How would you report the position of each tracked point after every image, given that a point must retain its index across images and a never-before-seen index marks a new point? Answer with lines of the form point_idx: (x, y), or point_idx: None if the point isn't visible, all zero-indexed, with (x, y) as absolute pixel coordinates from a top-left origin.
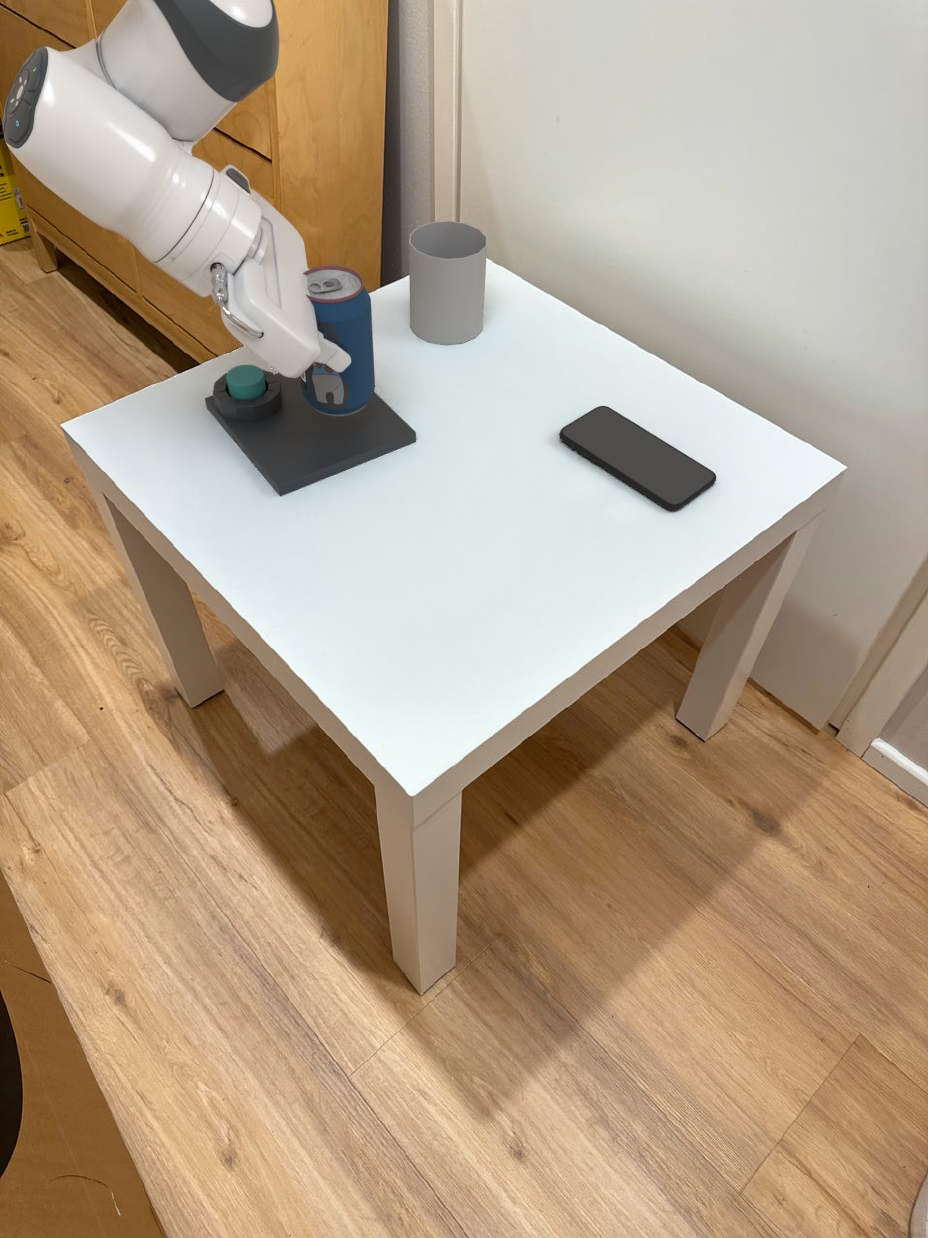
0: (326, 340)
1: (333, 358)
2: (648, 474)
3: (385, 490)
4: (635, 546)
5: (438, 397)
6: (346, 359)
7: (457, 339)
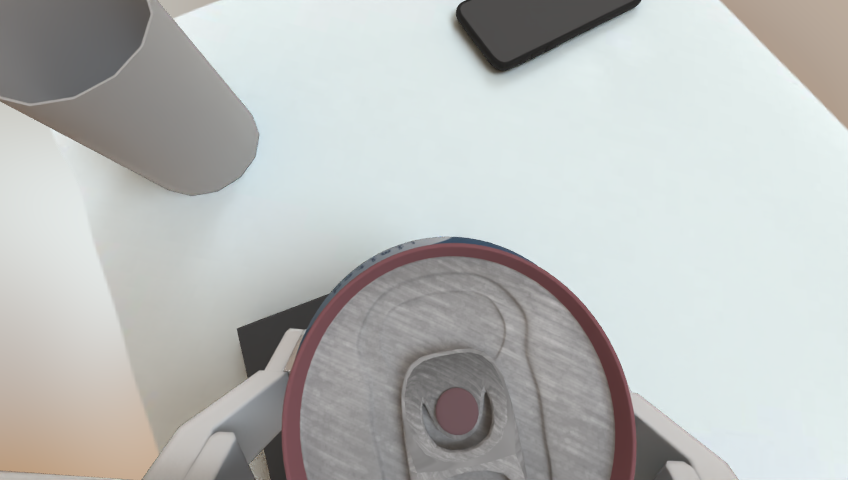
0: (680, 447)
1: None
2: (590, 1)
3: None
4: (689, 52)
5: (377, 193)
6: None
7: (254, 136)
